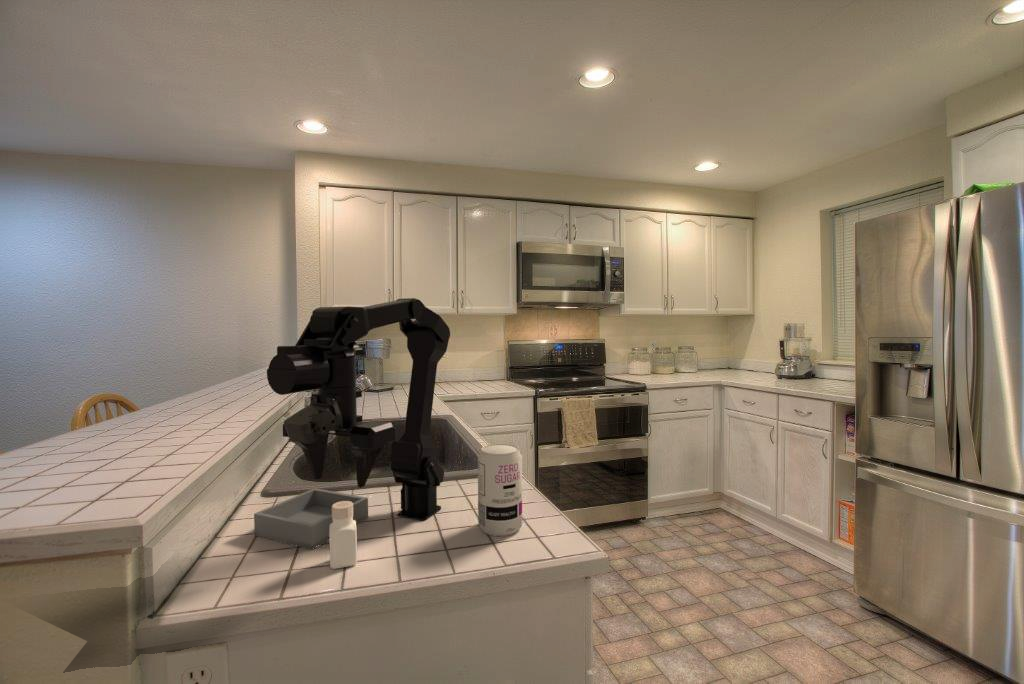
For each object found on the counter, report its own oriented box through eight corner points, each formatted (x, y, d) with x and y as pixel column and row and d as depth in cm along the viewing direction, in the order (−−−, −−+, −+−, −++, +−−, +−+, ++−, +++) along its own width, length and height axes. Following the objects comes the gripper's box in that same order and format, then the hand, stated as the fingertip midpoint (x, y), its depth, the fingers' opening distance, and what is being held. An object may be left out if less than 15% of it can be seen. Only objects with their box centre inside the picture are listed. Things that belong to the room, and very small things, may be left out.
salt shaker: (357, 566, 73) (356, 507, 73) (330, 571, 72) (328, 511, 71) (356, 554, 77) (355, 498, 76) (330, 559, 75) (329, 501, 75)
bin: (368, 517, 91) (367, 497, 91) (312, 549, 79) (311, 526, 78) (315, 507, 97) (314, 488, 97) (254, 535, 84) (254, 513, 84)
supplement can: (496, 515, 92) (495, 440, 92) (530, 525, 88) (530, 447, 87) (469, 530, 86) (468, 450, 85) (505, 542, 81) (504, 457, 80)
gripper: (250, 389, 70) (253, 491, 71) (343, 397, 62) (345, 511, 63) (310, 380, 80) (312, 469, 81) (396, 386, 72) (398, 485, 73)
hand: (339, 482), depth 74 cm, fingers open, 9 cm apart
